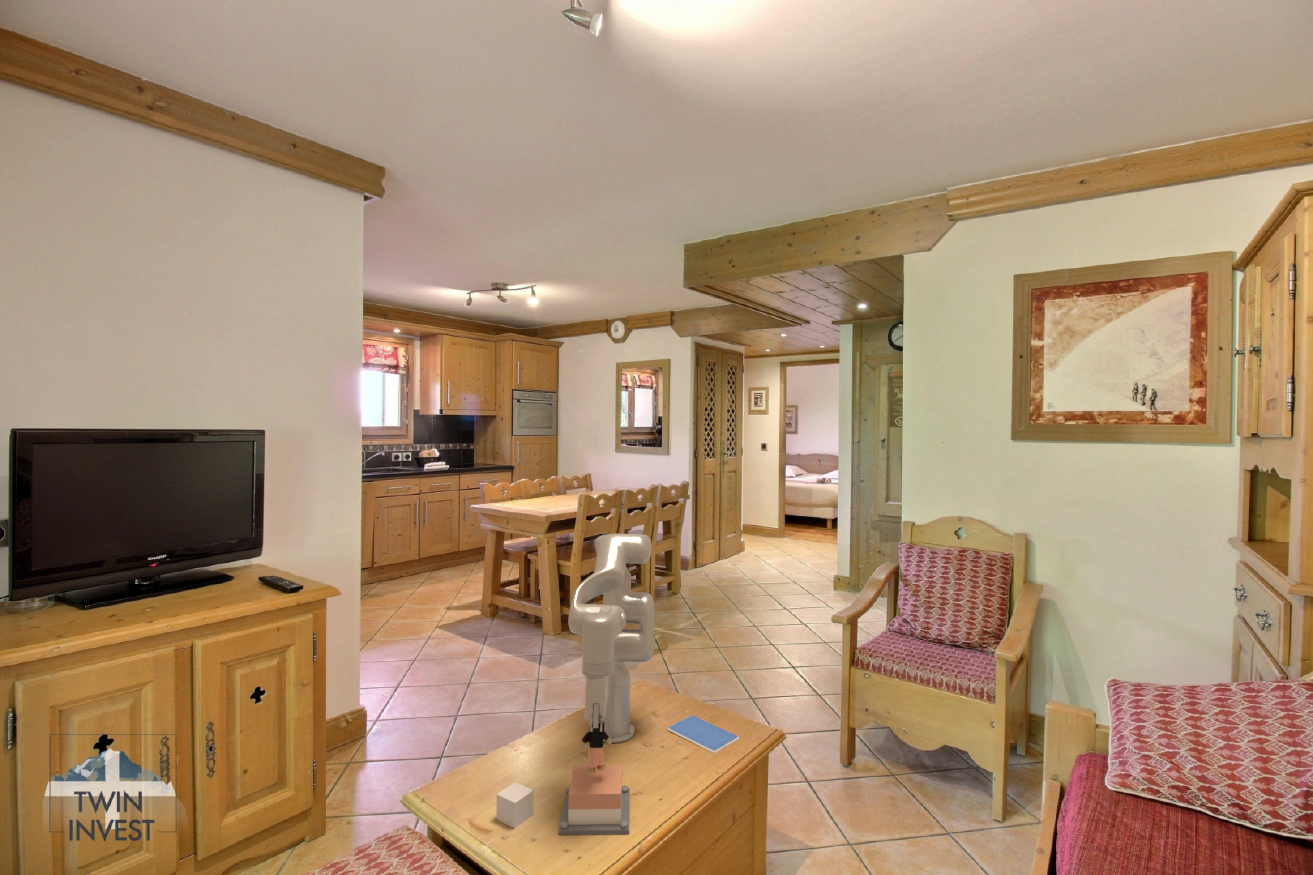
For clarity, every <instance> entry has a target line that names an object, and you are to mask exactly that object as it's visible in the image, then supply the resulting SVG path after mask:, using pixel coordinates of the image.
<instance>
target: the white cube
mask: <svg viewBox="0 0 1313 875" xmlns="http://www.w3.org/2000/svg"><path fill="white" fill-rule="evenodd" d="M532 816H534V789H532V788H529V787H527V786H525V785H524V784H523V785H522V784H520V783H518V782H516V781H514V782H513V783H512V784H511V785H509V786H507V787H505V788H504V789H502V790H501V791H499V792H498V793H497V794H496V820H497V821H498V822H501V823H502V824H505V825H506V826H509V827H511V828H512V829H516V828H518V827H519V826H520V825H521V824H523V823H524V822H525V821H527V820H529V818H531V817H532Z"/></svg>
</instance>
